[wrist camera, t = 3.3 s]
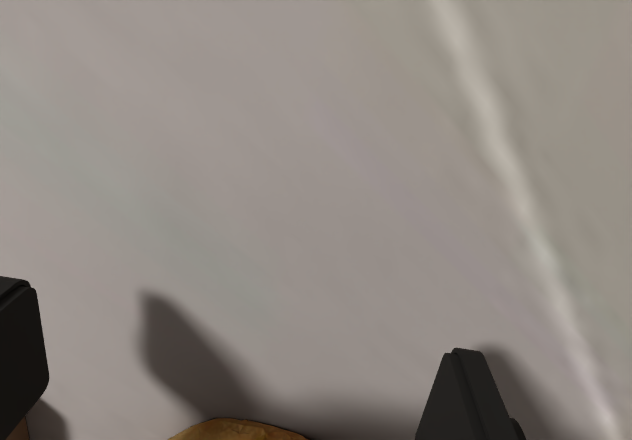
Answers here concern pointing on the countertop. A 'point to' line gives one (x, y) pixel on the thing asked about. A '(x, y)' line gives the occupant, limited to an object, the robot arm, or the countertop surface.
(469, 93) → the countertop surface
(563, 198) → the countertop surface
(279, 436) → the burger
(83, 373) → the countertop surface
